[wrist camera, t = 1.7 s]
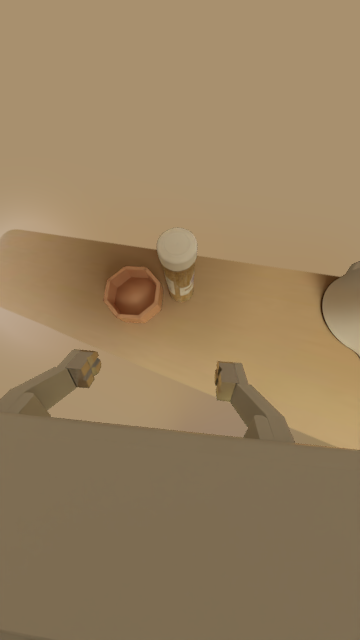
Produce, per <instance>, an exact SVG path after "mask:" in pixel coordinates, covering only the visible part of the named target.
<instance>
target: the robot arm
mask: <svg viewBox="0 0 360 640" xmlns="http://www.w3.org/2000/svg"><path fill="white" fill-rule="evenodd" d="M322 309H323V315H324V318H325V321H326V323H327V325H328V327H329V329H330V330H331V332H332V333H333V334H334V335H335V337H336V338H337V339H338V340H340V341H341V342H342V343H343V344H344V345H346V346H347V347H349V348H350V349H352V350H353V351H355V352H356V353H357V354H358V355H359V357H360V261H359V262H356V263H354V264H352V266H351V267H350V268H349V270H348V271H347V273H346V274H345V275H343V276H342V277H340V278H338V279H336V280H335V281H334V282H333V283H331V284H330V286H329V287H328V288H327V290H326V292H325V294H324V297H323V303H322ZM98 356H99V355H98V352H95V351H87V350H77V349H74V350H72V351H71V352H70V353H69V354H68V356H67V357H66V358H65V359H64V360H63V361H62V362H61V363H60V364H59V365H58V367H54V368H52V369H50V370H48V371H46V372H44V373H42V374H40V375H38V376H36V377H34V378H33V379H30V380H29V381H27V382H25V383H23V384H21V385H19V386H17V387H15V388H13V389H11V390H9V391H8V392H7V393H6V394H5V395H4V396H3V397H2V398H1V399H0V640H360V450H355V449H346V448H336V447H327V446H317V445H308V444H299V443H295V441H294V439H293V437H292V434H291V432H290V430H289V427H288V425H287V423H286V420H285V418H284V417H283V416H282V415H281V414H280V413H279V412H278V411H277V410H276V409H275V408H274V407H273V406H272V405H271V404H270V403H269V402H268V401H267V400H266V399H265V398H264V397H263V396H262V395H261V394H260V393H259V392H258V391H257V390H256V389H255V388H254V387H253V386H252V385H249V384H248V381H247V378H246V375H245V372H244V369H243V365H242V364H241V363H234V362H220V361H218V362H217V369H216V370H215V385H216V386H217V387H216V397H217V400H220V401H228V402H230V403H231V404H232V406H233V407H234V408H235V410H236V411H237V413H238V414H239V415H240V417H241V418H242V420H243V421H244V423H245V424H246V426H247V427H248V430H247V431H246V433H245V435H244V437H243V438H242V437H232V436H222V435H214V434H213V435H212V434H204V433H193V432H185V431H176V430H166V429H157V428H148V427H139V426H128V425H120V424H110V423H100V422H91V421H82V420H71V419H62V418H53V417H51V415H50V414H49V413H48V412H47V410H48V409H50V408H51V407H52V406H54V405H55V404H56V403H58V402H59V401H60V400H61V399H63V398H64V397H65V396H66V395H68V394H69V393H70V392H72V391H73V390H74V389H75V388H76V387H82V388H89V387H90V386H91V384H92V382H93V381H94V376H95V375H97V374H98V373H99V371H100V368H101V361H100V359H98V358H97V357H98Z"/></svg>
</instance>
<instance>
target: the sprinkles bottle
mask: <svg viewBox="0 0 360 640" xmlns="http://www.w3.org/2000/svg"><path fill="white" fill-rule="evenodd" d="M157 253H158V256H159V260H160V262H161V264H162V265H163V269H164V274H165V278H166V281H167V285H168V288H169V292H170V296H171V297H172V299H174V300H175V301H177V302H185V301H187V300H189V299H190V298H191V296H192V295H193V285H194V266H195V260H196V257H197V241H196V238H195V236H194V235H193V234H192V233H191V232H190V231H188V230H186V229H184V228H172V229H169V230H167V231H165V232H164V233H163V234H162V235H161V236H160V237H159V239H158V242H157Z"/></svg>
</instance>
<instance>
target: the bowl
mask: <svg viewBox="0 0 360 640" xmlns="http://www.w3.org/2000/svg"><path fill="white" fill-rule="evenodd" d="M162 298H163V289H162V286H161V283H160V282H159V281H158V279H157V278H156V277H155V276H154V275H153V274H152V273H151V272H150V271H149V269H148V268H147V267H134V266H124V267H123V268H122V269H120V270H119V271H118V272H116V273H115V274H114V275H112V276H111V277H110V278H109V279H107V283H106V288H105V294H104V299H103V301H104V302H105V304H106V305H107V306H108V307H109V309H110V310H111V311H112V313H113V314H114V315H115V316H116V318H118V319H120V320H122V321H124V322H133V323H146V322H147V321H148V320H150V319H151V318H152V317H153V316H154V315H156V314H157V313H158V312H159V311H161V307H162Z"/></svg>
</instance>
